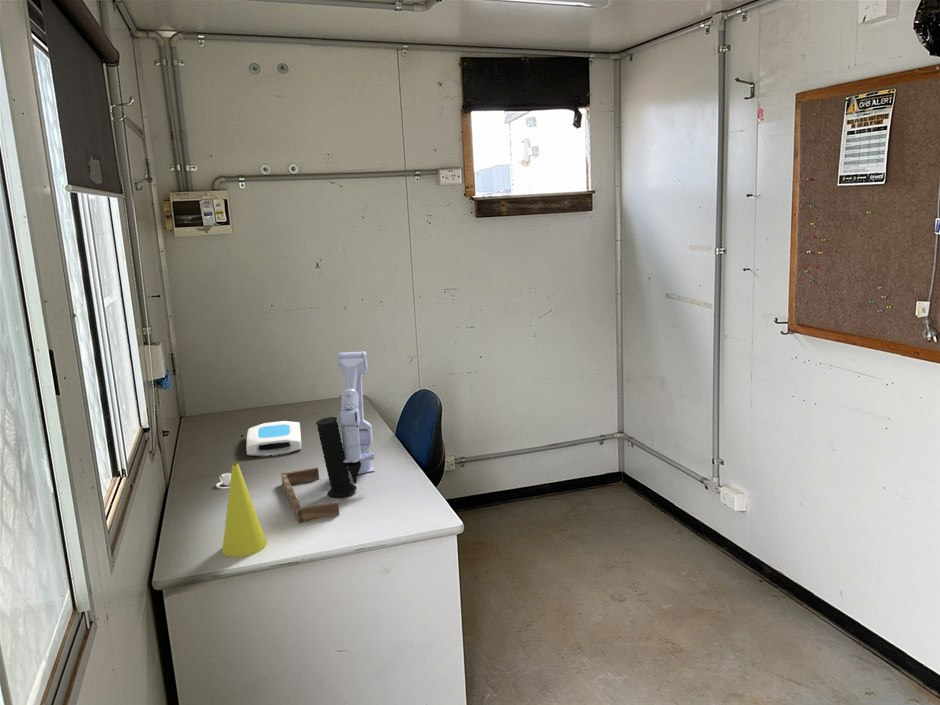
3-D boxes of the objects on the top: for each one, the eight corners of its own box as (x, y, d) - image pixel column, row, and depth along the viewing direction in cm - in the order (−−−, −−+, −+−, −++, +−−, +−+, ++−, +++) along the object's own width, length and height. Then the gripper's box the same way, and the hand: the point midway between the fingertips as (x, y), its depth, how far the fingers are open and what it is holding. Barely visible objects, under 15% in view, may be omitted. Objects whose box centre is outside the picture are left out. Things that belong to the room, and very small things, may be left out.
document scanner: (300, 432, 313) (299, 418, 312) (302, 452, 287) (300, 437, 285) (250, 438, 308) (248, 424, 307) (247, 459, 282) (245, 444, 280)
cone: (271, 535, 211) (262, 455, 207) (260, 555, 199) (251, 470, 195) (229, 538, 211) (219, 457, 206) (216, 558, 199) (205, 473, 194)
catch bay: (282, 484, 252) (281, 473, 252) (318, 477, 257) (317, 467, 256) (298, 523, 219) (296, 510, 219) (339, 514, 224) (338, 502, 223)
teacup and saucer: (245, 483, 256) (244, 472, 255) (228, 491, 249) (227, 480, 248) (229, 479, 260) (227, 469, 260) (211, 487, 254) (210, 476, 253)
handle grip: (326, 489, 246) (328, 500, 236) (309, 417, 239) (311, 425, 230) (355, 482, 248) (358, 492, 238) (339, 410, 242) (342, 418, 232)
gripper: (332, 451, 234) (335, 490, 237) (375, 444, 239) (378, 482, 242) (328, 445, 241) (331, 483, 243) (370, 438, 246) (373, 476, 248)
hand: (354, 482), depth 243 cm, fingers closed
